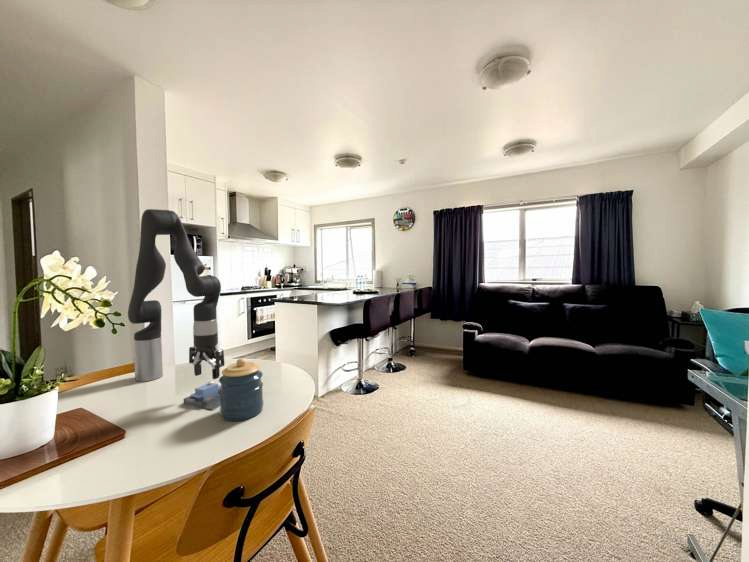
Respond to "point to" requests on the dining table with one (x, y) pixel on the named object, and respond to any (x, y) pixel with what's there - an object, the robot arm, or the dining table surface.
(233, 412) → the canister
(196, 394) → the block
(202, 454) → the dining table surface
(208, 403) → the chassis plate
